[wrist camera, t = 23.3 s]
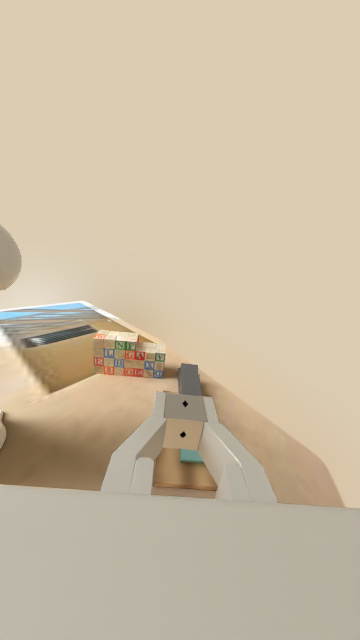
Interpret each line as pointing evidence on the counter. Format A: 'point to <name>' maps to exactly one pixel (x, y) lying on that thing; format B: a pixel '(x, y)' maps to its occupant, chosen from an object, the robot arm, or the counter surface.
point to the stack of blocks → (127, 355)
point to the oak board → (181, 471)
